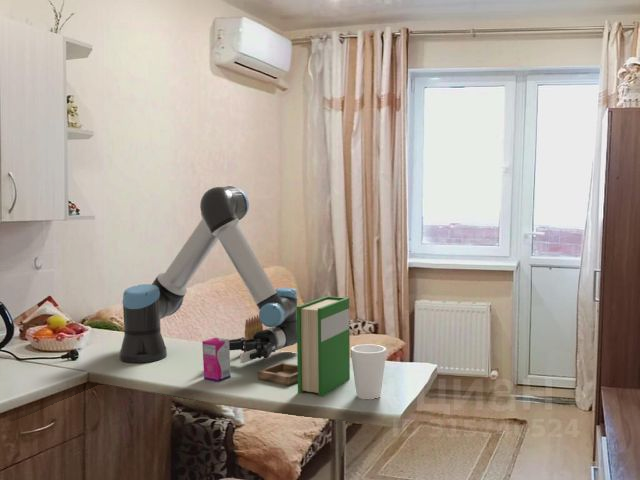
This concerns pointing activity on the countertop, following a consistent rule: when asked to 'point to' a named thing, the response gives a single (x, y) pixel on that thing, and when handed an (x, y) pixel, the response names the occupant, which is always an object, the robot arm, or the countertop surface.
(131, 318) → the robot arm
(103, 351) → the countertop surface
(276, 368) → the shallow wooden tray
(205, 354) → the supplement box
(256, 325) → the ammunition clip
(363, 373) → the foam cup
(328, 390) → the hardback book
